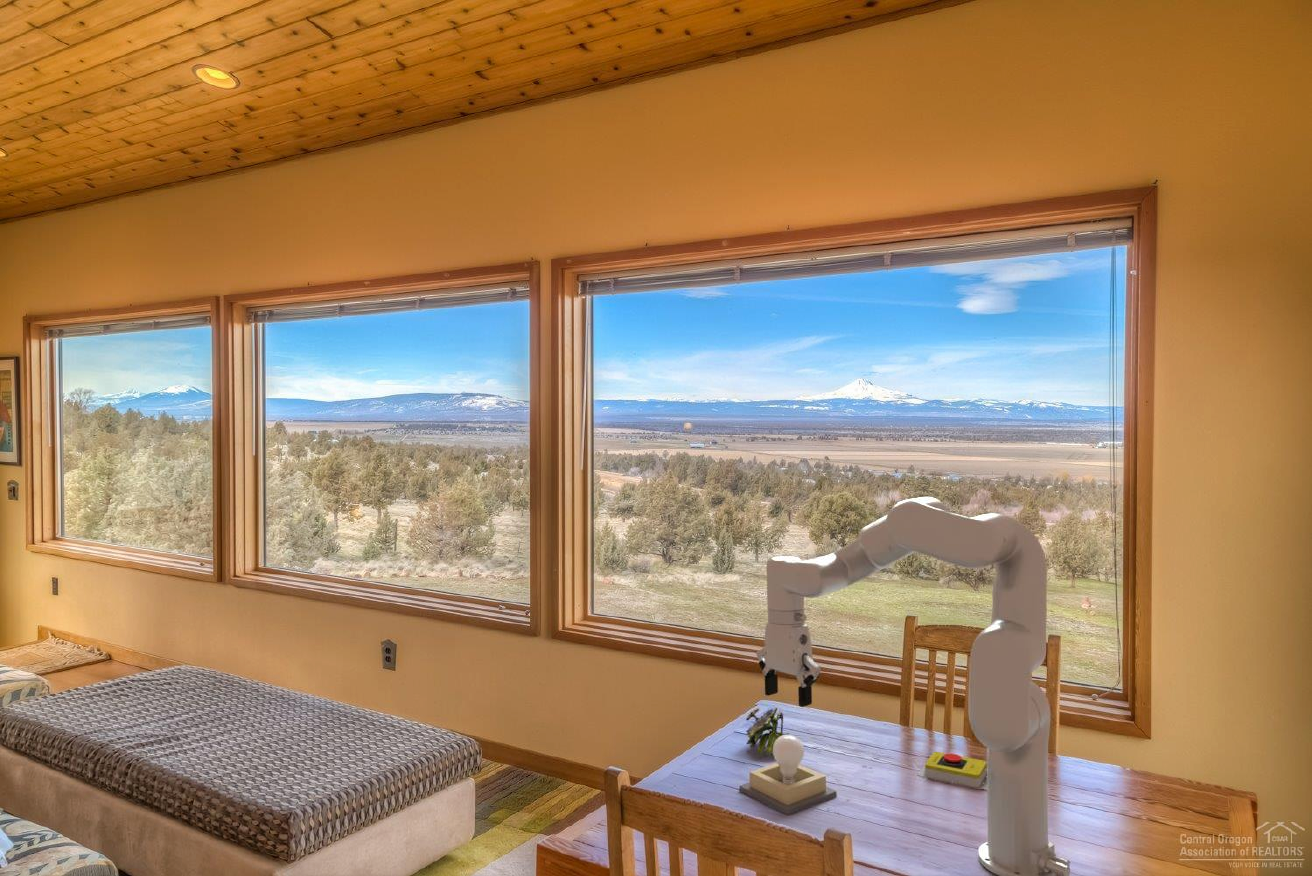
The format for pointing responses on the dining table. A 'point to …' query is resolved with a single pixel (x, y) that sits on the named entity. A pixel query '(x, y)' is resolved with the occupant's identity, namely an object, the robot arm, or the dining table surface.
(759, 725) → the green leafy plant
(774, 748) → the lightbulb
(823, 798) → the socket block
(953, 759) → the emergency button
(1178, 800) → the dining table surface
